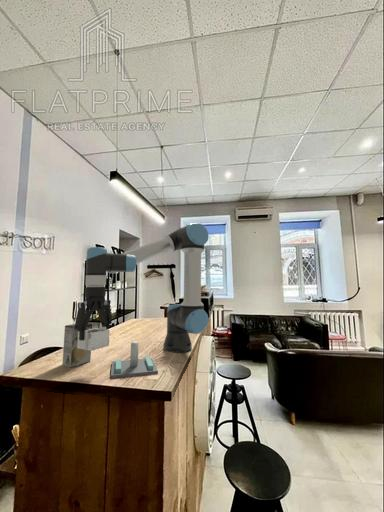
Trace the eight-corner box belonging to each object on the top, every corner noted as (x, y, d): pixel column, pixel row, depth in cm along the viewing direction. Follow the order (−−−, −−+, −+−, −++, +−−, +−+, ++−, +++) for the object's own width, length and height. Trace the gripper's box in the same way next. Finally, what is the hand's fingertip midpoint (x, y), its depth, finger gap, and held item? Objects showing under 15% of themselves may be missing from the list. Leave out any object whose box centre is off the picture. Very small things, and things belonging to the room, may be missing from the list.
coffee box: (82, 359, 104) (84, 322, 106) (90, 361, 100) (93, 323, 102) (61, 364, 96) (64, 325, 98) (70, 367, 93) (73, 326, 95)
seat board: (152, 360, 103) (153, 337, 104) (158, 373, 88) (158, 346, 89) (112, 363, 98) (113, 339, 99) (110, 378, 83) (112, 349, 84)
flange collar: (94, 343, 94) (95, 327, 95) (109, 345, 90) (109, 329, 91) (77, 348, 87) (78, 331, 88) (91, 350, 83) (92, 333, 84)
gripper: (109, 285, 102) (107, 339, 100) (64, 287, 84) (61, 352, 81) (122, 285, 99) (120, 340, 96) (78, 287, 80) (75, 355, 78)
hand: (93, 346), depth 89 cm, fingers closed on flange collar, 8 cm apart
